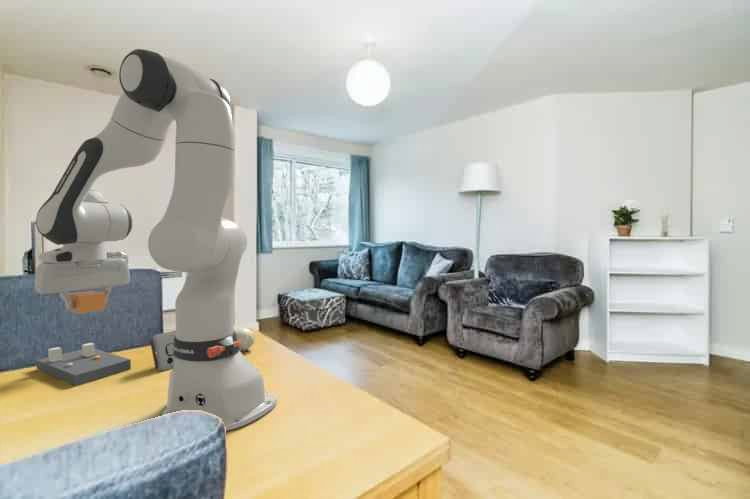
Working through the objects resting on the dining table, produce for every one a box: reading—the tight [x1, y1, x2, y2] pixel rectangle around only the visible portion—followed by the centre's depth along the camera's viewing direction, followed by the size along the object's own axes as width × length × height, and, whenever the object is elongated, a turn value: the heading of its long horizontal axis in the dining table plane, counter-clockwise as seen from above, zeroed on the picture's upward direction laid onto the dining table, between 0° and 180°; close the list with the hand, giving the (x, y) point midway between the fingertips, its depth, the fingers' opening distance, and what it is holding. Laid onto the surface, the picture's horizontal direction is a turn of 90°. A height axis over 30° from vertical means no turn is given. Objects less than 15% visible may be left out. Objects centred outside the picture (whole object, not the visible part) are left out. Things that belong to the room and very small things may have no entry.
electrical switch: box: [149, 329, 176, 372], centre depth 100 cm, size 9×5×9 cm, turn 152°
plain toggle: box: [47, 346, 63, 362], centre depth 94 cm, size 2×2×3 cm
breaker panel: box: [36, 348, 132, 387], centre depth 96 cm, size 20×12×3 cm, turn 62°
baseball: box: [233, 327, 256, 352], centre depth 112 cm, size 7×7×7 cm
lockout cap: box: [68, 290, 107, 315], centre depth 97 cm, size 6×6×4 cm
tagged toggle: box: [81, 342, 96, 357], centre depth 98 cm, size 2×2×3 cm
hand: (87, 306), depth 97 cm, fingers closed on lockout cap, 6 cm apart
